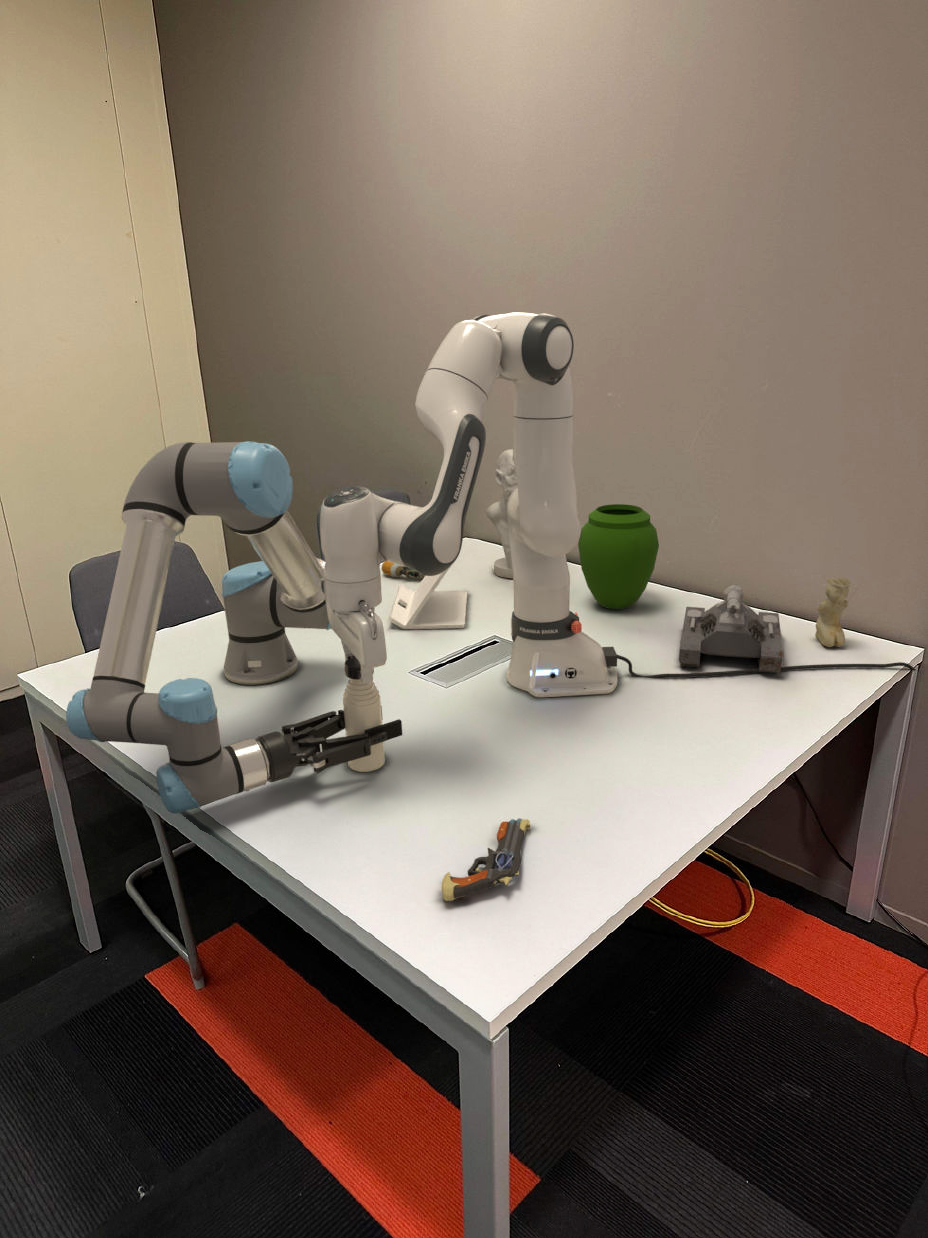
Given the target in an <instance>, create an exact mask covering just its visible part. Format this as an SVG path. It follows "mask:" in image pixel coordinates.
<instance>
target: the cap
mask: <svg viewBox="0 0 928 1238" xmlns="http://www.w3.org/2000/svg"><path fill="white" fill-rule="evenodd" d="M359 671H361V665H360V662H359V661H358V659H357V658H356V657H354V658H350V659H348V660H346V661H345V660H344V675H345V676H346V678H347V679H349V680H350V679H356V680H358V679H360V675H359ZM374 673H375V669H374V670H373V674H374Z"/></svg>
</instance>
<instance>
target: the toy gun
mask: <svg viewBox="0 0 928 1238" xmlns="http://www.w3.org/2000/svg"><path fill="white" fill-rule="evenodd" d="M529 829H531V822H530V820H529V819H528V818H527V819H525V818H524V819H522V818H517V819H515V818H512V819H510V820H509V821H501V822H500V825H499V828H498V830H497V833H496V839H497V840H496V841H497V842H498V845H497V848H496V850H494V849H492V848H490V847H487V854H488V855H487V856H479V857H476V858H475V859H474V861H473V863H472V865H471V866H470V868H468V870H467V876H465V877H457V876H453V875H451V873H450V871H448V872H447V873H445V875H444V876H443V878H442V881H441V894H442V899H443V900H444V901H446V902H451V901H454V900H456V899H458V898H463V897H464V898H465V897H467V896H470V895H472V894H476V893H478V892H481V891H485V890H489V889H490V888H494V887H495V886H497V885H499V884H501V883H504V886H508V885H509V884H510V882H511V881H512V880H513V877H515V876H519V875H520V869H521V865H522V853H521V851H522V847H523V842H524V838H525V836H526V832H527V830H529ZM481 865H483V866H484V868H483V869H479V866H481ZM495 866H496V868H495Z"/></svg>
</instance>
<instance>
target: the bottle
mask: <svg viewBox="0 0 928 1238" xmlns="http://www.w3.org/2000/svg"><path fill="white" fill-rule="evenodd" d="M342 696H343V697H342V706H343V707H342V708H343V710H344V720H345V729H344V732H345V737H346V736H352V735H358V734H365V730H367V729H370V728H373V727H376V726H379V725H383V720H382V719H383V713H382V714H381V706H382V703H381V702H382V701H381V695H380V691H379V689H378V687H377V686H376V684H375V682H374V681H373V682H372V683H368V684H363V683H362V681H361V680H360V679H358V680H356V679H350V678H349V679H348V681H347V684H346V688H345V689H344V692H343V694H342ZM384 743H385V742H381V743H378V744H375V745H372V746H371V755H369V756H366V757H362V758H359V759H355V760H352V761H349V762H347V765H348V767H349V768H350V769H351V770H353V771H356V772H359V773H369V772H374V771H377V770H379V769H380V768H382V767H383V766H384V765H385V762H386V760H385V759H386V758H385V745H384Z"/></svg>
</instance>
